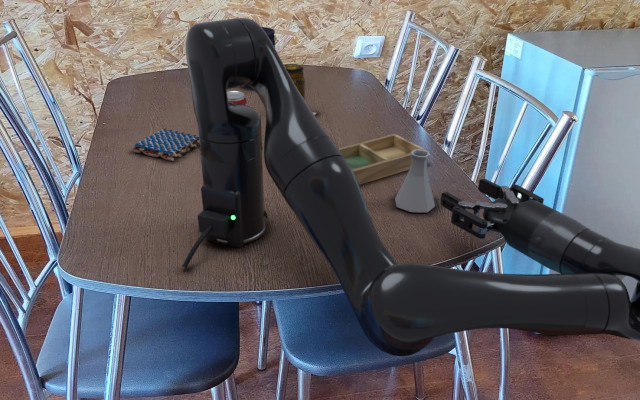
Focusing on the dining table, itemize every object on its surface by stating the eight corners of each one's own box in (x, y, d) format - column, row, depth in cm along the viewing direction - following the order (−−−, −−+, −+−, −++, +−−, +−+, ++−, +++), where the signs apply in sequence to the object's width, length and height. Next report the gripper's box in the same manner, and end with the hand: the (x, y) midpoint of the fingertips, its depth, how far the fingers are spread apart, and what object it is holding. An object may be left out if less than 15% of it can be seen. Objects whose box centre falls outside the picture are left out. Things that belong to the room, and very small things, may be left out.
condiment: (286, 108, 143) (285, 61, 137) (317, 113, 140) (317, 65, 134) (273, 117, 137) (271, 68, 131) (304, 123, 134) (304, 73, 128)
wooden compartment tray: (425, 164, 115) (427, 149, 114) (348, 188, 106) (349, 172, 104) (393, 147, 122) (394, 133, 121) (318, 168, 113) (319, 153, 111)
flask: (431, 217, 97) (438, 164, 92) (390, 209, 99) (394, 157, 94) (438, 198, 103) (445, 147, 98) (399, 191, 105) (403, 141, 100)
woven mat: (131, 153, 118) (129, 144, 117) (163, 135, 126) (162, 127, 125) (171, 162, 114) (170, 153, 113) (202, 144, 122) (201, 135, 121)
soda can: (244, 154, 117) (241, 99, 112) (220, 152, 118) (216, 97, 112) (252, 145, 122) (249, 91, 116) (229, 142, 123) (225, 89, 117)
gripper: (509, 275, 77) (426, 223, 88) (573, 244, 84) (488, 199, 95) (519, 228, 73) (431, 180, 85) (585, 200, 80) (495, 159, 92)
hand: (461, 190), depth 90 cm, fingers open, 8 cm apart
